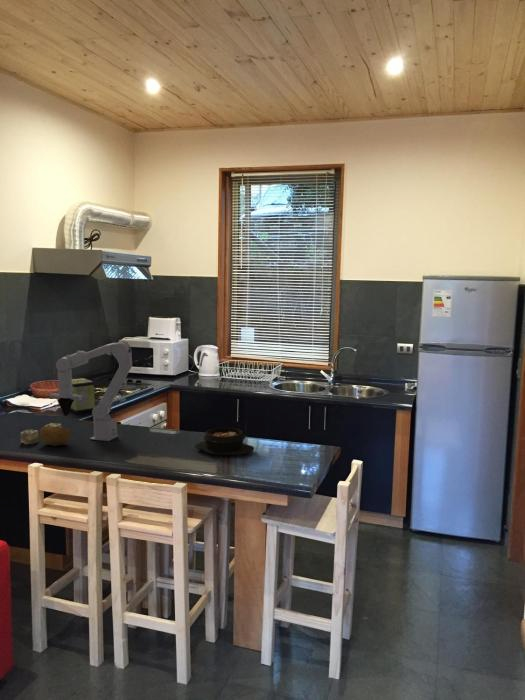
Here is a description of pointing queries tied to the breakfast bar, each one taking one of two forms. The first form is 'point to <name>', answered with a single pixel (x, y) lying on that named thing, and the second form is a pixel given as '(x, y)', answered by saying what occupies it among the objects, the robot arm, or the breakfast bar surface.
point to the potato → (55, 435)
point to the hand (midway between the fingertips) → (66, 415)
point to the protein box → (83, 395)
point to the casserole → (224, 442)
